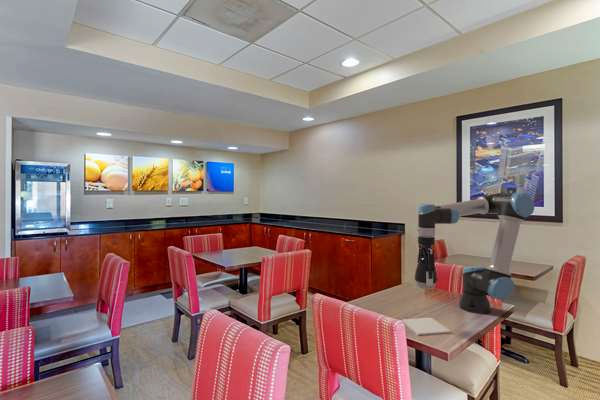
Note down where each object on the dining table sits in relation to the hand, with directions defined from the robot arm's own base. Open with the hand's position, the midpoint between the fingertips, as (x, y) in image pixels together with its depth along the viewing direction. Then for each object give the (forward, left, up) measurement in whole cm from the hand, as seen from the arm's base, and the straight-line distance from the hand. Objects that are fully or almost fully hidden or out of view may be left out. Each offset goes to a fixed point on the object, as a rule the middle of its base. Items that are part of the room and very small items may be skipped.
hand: (425, 282), depth 153 cm
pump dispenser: (0, 0, -3) cm, 3 cm away
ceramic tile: (+2, +3, -20) cm, 21 cm away
